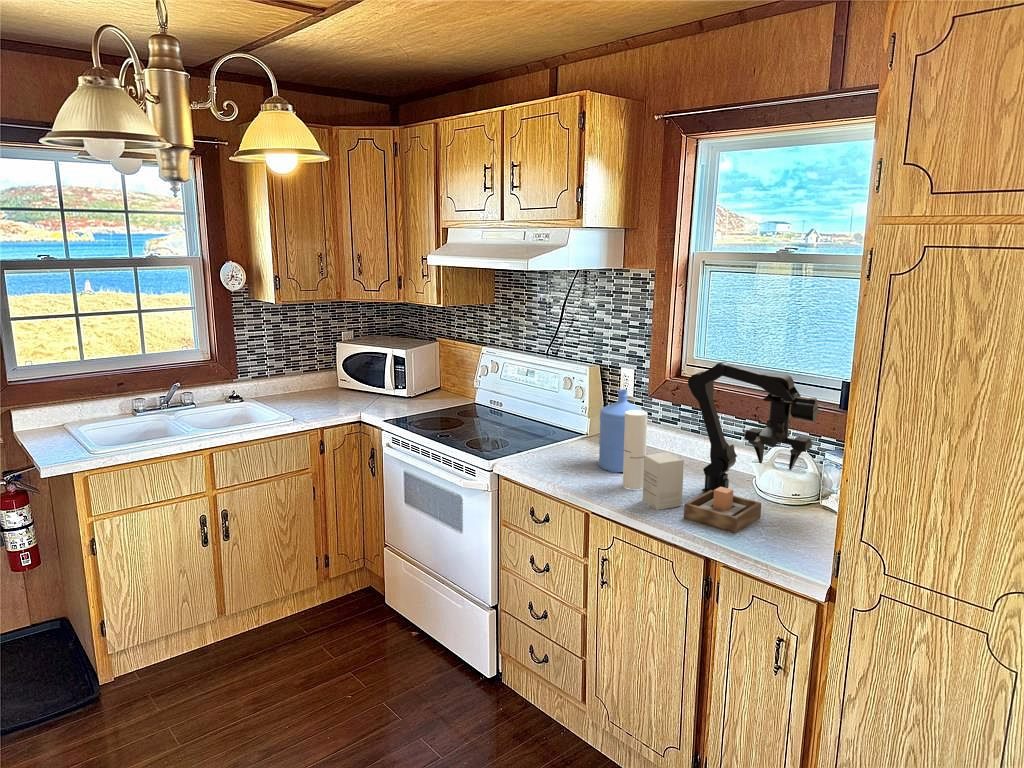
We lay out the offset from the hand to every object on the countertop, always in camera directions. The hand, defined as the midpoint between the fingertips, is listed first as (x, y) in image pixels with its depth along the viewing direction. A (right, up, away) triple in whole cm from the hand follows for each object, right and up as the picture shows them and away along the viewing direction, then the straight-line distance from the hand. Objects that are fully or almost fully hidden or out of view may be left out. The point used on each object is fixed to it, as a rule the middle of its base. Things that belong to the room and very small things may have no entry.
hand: (775, 466), depth 211 cm
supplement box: (-34, -12, +3) cm, 36 cm away
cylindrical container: (-40, -9, +18) cm, 45 cm away
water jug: (-41, -5, +38) cm, 56 cm away
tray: (-19, -14, -8) cm, 25 cm away
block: (-19, -13, -8) cm, 25 cm away
